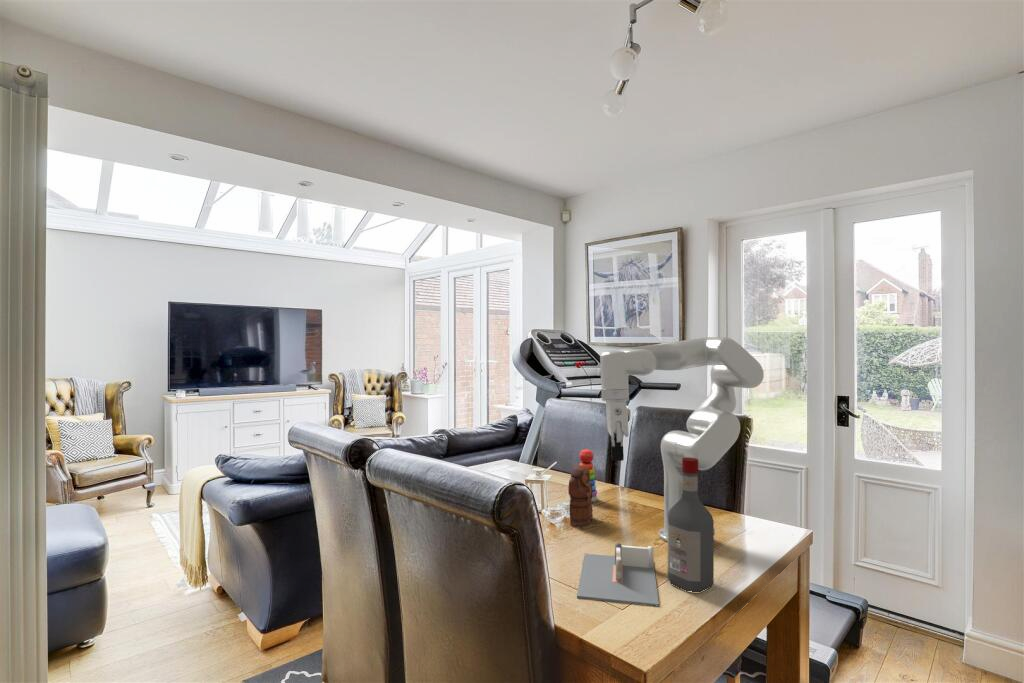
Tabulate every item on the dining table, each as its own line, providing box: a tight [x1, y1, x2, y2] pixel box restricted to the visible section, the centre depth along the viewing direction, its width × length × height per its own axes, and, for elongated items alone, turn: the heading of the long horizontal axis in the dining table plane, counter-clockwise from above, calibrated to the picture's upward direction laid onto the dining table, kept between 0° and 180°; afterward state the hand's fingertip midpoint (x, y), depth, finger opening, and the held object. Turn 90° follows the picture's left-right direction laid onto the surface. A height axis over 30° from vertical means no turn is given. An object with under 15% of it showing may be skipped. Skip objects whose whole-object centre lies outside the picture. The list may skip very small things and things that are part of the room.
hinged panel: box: [616, 547, 622, 581], centre depth 129 cm, size 9×1×5 cm, turn 169°
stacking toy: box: [578, 448, 598, 503], centre depth 191 cm, size 8×8×19 cm
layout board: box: [576, 542, 660, 607], centre depth 128 cm, size 18×24×6 cm
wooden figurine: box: [567, 464, 594, 527], centre depth 168 cm, size 12×6×18 cm, turn 157°
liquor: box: [667, 458, 715, 593], centre depth 125 cm, size 9×9×30 cm
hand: (617, 459), depth 146 cm, fingers closed
